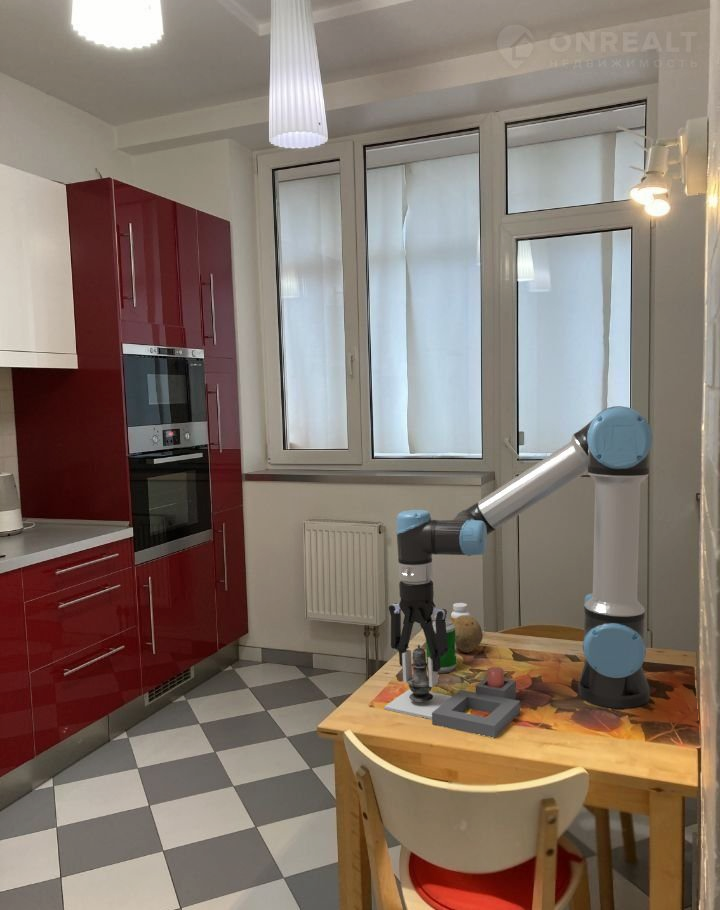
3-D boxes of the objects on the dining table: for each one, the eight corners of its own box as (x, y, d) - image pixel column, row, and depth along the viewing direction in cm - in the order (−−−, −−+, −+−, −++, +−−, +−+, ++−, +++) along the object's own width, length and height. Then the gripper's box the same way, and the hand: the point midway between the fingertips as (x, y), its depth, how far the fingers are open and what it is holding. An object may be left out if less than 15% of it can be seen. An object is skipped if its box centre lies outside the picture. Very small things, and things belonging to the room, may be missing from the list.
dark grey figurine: (427, 704, 162) (424, 650, 162) (403, 699, 165) (400, 646, 165) (438, 694, 167) (436, 642, 167) (415, 690, 170) (413, 639, 170)
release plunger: (506, 694, 167) (506, 668, 167) (500, 700, 164) (499, 673, 164) (491, 691, 169) (491, 666, 169) (485, 697, 166) (484, 671, 166)
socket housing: (531, 700, 166) (531, 683, 166) (494, 738, 148) (493, 718, 148) (474, 689, 173) (473, 673, 173) (432, 724, 156) (431, 705, 156)
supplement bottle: (466, 642, 208) (465, 608, 207) (448, 640, 210) (447, 606, 210) (473, 636, 213) (472, 603, 212) (456, 634, 215) (454, 601, 214)
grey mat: (457, 699, 168) (457, 697, 168) (432, 719, 158) (432, 717, 158) (410, 690, 175) (410, 688, 175) (384, 709, 165) (384, 706, 165)
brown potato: (442, 653, 199) (440, 617, 199) (460, 644, 206) (458, 609, 206) (471, 659, 194) (469, 622, 193) (488, 650, 200) (487, 613, 200)
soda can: (455, 674, 184) (453, 626, 183) (425, 673, 185) (423, 626, 184) (457, 663, 191) (456, 618, 190) (428, 663, 193) (426, 617, 192)
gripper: (371, 580, 167) (375, 681, 168) (446, 588, 156) (451, 695, 158) (388, 573, 173) (392, 670, 175) (462, 580, 163) (466, 683, 164)
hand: (420, 682), depth 166 cm, fingers closed on dark grey figurine, 6 cm apart
